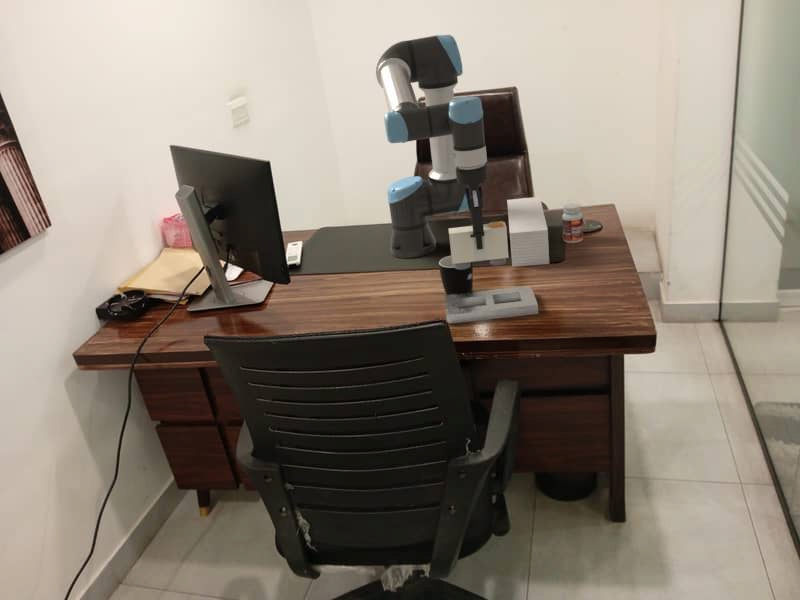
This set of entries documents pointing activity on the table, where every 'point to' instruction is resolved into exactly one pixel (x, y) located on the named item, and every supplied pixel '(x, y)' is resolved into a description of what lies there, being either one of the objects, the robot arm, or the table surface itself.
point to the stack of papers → (528, 232)
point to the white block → (465, 247)
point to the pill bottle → (572, 223)
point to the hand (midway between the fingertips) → (480, 256)
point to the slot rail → (490, 304)
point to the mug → (455, 277)
